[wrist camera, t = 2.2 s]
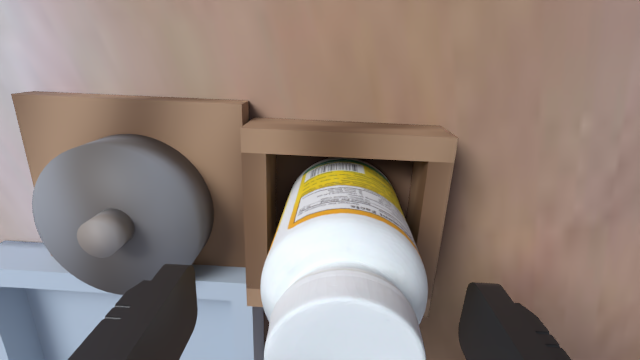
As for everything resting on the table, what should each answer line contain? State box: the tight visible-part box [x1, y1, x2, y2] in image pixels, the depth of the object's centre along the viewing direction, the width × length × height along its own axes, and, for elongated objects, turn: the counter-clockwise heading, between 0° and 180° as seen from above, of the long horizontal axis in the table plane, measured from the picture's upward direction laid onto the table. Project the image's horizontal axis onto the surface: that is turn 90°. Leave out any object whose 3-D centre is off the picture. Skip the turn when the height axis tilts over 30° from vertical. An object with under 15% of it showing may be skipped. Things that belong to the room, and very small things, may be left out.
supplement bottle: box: [260, 157, 428, 360], centre depth 13 cm, size 5×5×10 cm
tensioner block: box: [11, 91, 458, 317], centre depth 16 cm, size 19×10×4 cm, turn 88°
